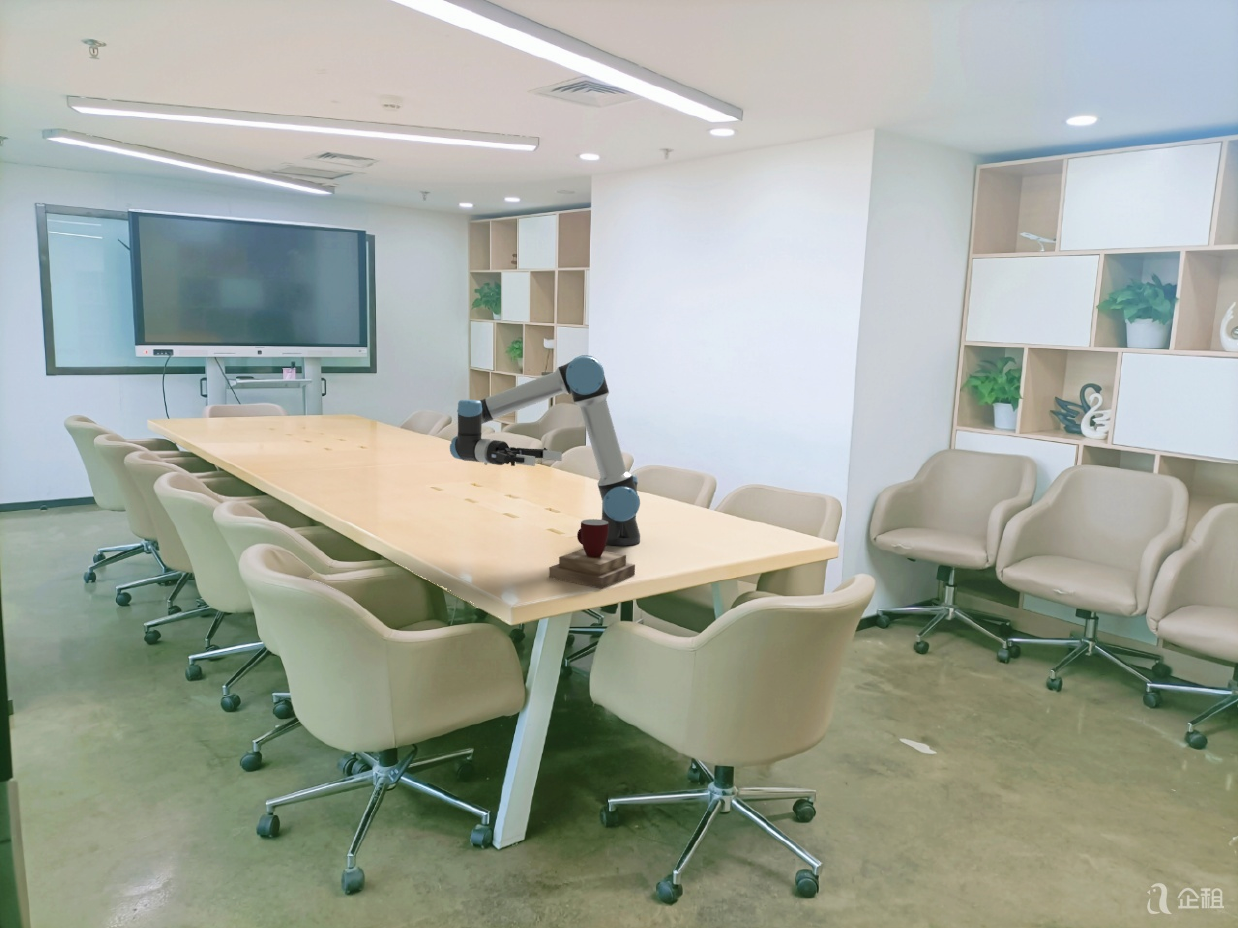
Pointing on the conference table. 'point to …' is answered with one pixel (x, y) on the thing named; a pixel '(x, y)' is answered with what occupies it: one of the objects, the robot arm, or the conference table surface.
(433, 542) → the conference table surface
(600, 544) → the mug
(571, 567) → the stand
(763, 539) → the conference table surface
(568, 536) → the conference table surface
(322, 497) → the conference table surface
